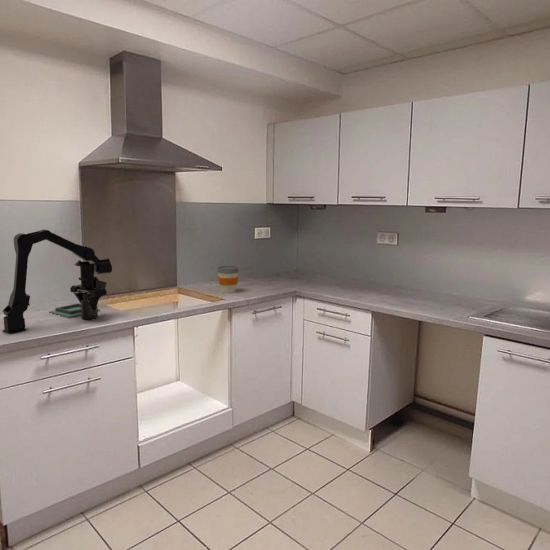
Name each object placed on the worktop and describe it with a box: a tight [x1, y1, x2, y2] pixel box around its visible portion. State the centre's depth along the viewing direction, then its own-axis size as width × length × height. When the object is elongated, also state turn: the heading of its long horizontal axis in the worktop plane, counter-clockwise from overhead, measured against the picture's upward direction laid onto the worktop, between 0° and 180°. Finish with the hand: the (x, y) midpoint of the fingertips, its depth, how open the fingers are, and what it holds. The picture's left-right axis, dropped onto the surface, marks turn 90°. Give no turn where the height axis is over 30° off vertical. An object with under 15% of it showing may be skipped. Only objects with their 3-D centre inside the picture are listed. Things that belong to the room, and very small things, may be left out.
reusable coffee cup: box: [217, 265, 239, 294], centre depth 259 cm, size 13×13×15 cm
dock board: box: [48, 302, 101, 319], centre depth 206 cm, size 16×16×2 cm
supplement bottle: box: [80, 292, 99, 321], centre depth 194 cm, size 7×7×12 cm
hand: (89, 308), depth 195 cm, fingers closed on supplement bottle, 7 cm apart
